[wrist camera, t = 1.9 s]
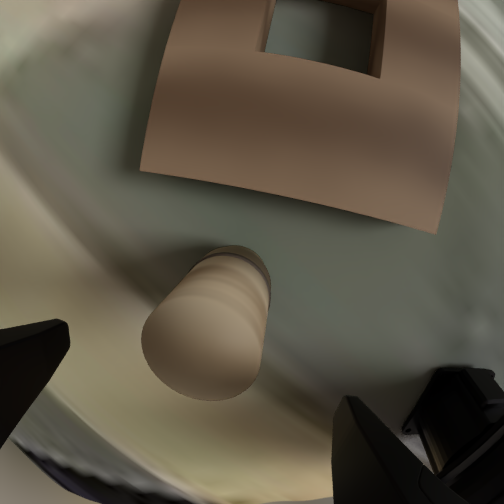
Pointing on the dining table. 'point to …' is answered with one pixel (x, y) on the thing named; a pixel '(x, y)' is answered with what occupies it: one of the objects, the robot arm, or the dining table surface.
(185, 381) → the peg
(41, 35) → the dining table surface
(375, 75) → the board
